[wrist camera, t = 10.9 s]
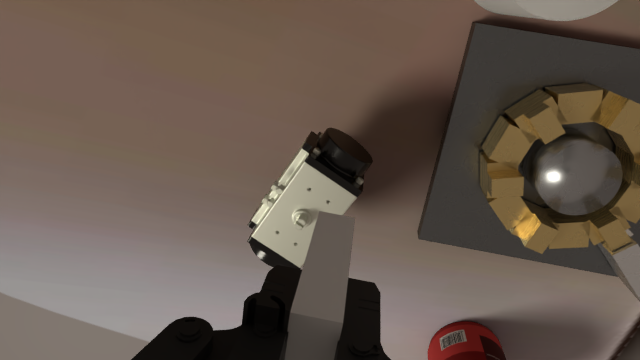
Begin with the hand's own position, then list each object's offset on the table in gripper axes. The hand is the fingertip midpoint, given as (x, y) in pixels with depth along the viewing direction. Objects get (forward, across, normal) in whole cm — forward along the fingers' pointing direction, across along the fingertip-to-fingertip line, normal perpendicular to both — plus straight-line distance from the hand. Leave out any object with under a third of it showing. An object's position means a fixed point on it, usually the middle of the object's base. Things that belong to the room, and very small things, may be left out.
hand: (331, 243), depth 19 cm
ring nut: (+23, +20, -3) cm, 30 cm away
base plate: (+24, +18, -1) cm, 30 cm away
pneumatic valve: (+25, -3, -6) cm, 26 cm away
